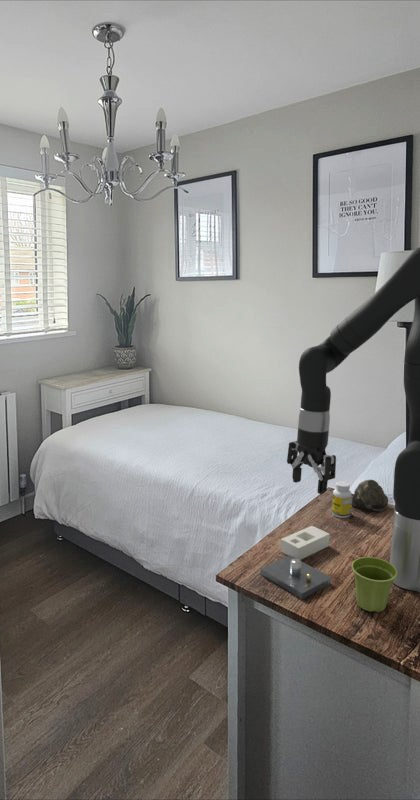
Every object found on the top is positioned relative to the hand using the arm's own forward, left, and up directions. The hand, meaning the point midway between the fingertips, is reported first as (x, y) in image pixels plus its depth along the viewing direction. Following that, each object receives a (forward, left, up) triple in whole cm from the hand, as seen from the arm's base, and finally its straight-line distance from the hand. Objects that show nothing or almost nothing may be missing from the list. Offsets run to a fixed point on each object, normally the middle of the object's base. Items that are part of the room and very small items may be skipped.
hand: (308, 487), depth 133 cm
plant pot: (-25, +7, -17) cm, 31 cm away
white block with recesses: (0, 0, -17) cm, 17 cm away
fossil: (+5, -35, -17) cm, 39 cm away
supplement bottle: (+7, -24, -17) cm, 30 cm away
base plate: (-8, +13, -17) cm, 23 cm away
